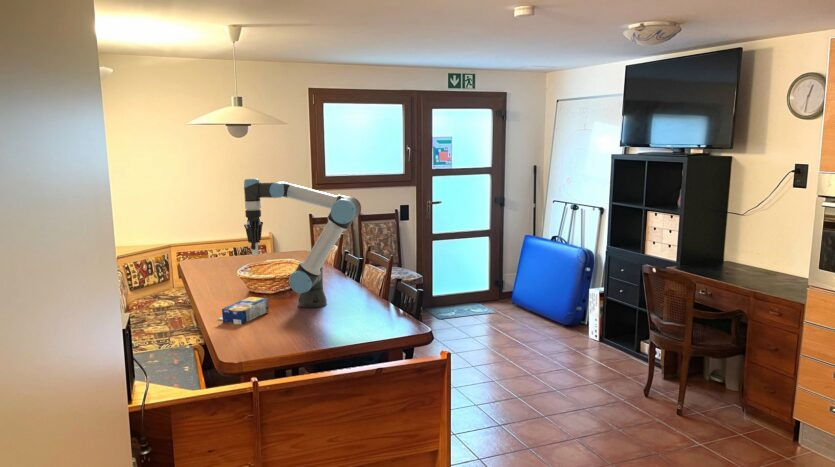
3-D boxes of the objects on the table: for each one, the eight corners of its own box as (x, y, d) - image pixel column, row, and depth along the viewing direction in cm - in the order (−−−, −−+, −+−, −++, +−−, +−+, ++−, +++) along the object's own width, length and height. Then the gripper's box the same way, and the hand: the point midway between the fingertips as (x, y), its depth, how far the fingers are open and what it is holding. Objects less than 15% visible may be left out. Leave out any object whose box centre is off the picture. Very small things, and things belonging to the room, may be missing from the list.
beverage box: (268, 311, 298) (241, 325, 277) (250, 309, 302) (222, 322, 281) (268, 298, 297) (241, 311, 276) (249, 296, 300) (221, 308, 280)
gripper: (254, 207, 303) (256, 252, 307) (238, 210, 291) (241, 257, 295) (266, 208, 301) (268, 253, 304) (251, 211, 289) (253, 258, 292)
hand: (255, 255), depth 299 cm, fingers closed
